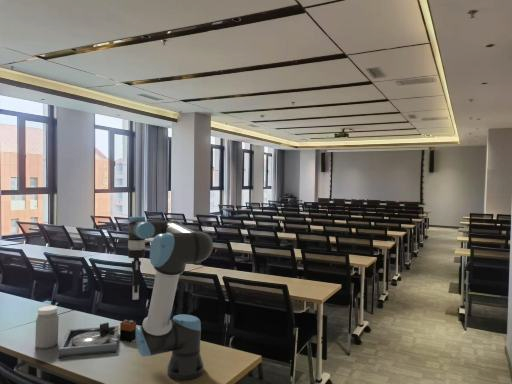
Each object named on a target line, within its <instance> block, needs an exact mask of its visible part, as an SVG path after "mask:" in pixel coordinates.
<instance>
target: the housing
mask: <svg viewBox="0 0 512 384" xmlns="http://www.w3.org/2000/svg"><path fill="white" fill-rule="evenodd" d="M119 330H120V328H119V325H115V326H114V325H113V326H109V335H110V341H109V343H107V344H97V345H85V346H74V347H72V339H73V338H74V337H75V336H77V335H79V334H82V333H87V332H97V331H98V332H100V326H99V327H88V328H87V327H86V328H74V329H72V328H71V329H67V331H66V334H65V336H64V337H63V340H62V342H61V344H60V346H59V348H58V359H62V358H75V357H81V356H82V357H83V356H93V355H94V356H95V355H104V354H105V355H106V354H116V352H117V345H118V341H120V338H119Z"/></svg>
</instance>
